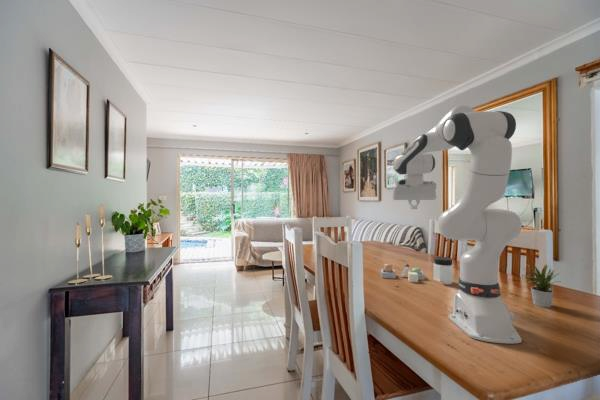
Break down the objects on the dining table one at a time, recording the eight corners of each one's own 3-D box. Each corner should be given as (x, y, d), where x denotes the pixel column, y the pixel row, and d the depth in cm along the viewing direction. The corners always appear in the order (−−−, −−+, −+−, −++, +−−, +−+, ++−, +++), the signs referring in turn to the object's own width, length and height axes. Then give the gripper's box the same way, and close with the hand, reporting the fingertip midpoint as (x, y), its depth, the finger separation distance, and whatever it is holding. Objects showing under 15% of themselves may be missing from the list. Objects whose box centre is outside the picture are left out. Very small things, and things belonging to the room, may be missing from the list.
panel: (430, 286, 135) (429, 278, 135) (382, 283, 140) (382, 275, 140) (424, 278, 149) (424, 270, 149) (380, 276, 154) (380, 268, 154)
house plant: (521, 294, 123) (521, 257, 122) (565, 303, 113) (565, 262, 113) (515, 304, 113) (515, 263, 112) (563, 314, 103) (563, 269, 103)
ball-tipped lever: (404, 277, 146) (410, 265, 146) (400, 276, 147) (406, 264, 146) (403, 276, 149) (409, 264, 148) (399, 274, 149) (405, 263, 148)
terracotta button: (392, 273, 147) (392, 265, 147) (384, 272, 148) (384, 265, 148) (391, 271, 151) (391, 263, 151) (383, 270, 152) (383, 263, 152)
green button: (421, 277, 144) (421, 269, 144) (412, 277, 145) (412, 269, 145) (419, 275, 148) (419, 267, 148) (411, 275, 148) (411, 267, 148)
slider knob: (418, 282, 138) (418, 274, 138) (409, 281, 139) (409, 274, 139) (416, 279, 142) (416, 272, 142) (408, 279, 143) (408, 272, 143)
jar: (448, 286, 136) (448, 261, 136) (431, 282, 142) (431, 258, 142) (455, 282, 142) (455, 258, 142) (438, 278, 148) (438, 256, 148)
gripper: (434, 181, 142) (434, 208, 142) (392, 182, 147) (392, 208, 147) (437, 180, 136) (437, 209, 136) (393, 181, 141) (393, 209, 141)
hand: (413, 209), depth 142 cm, fingers closed
